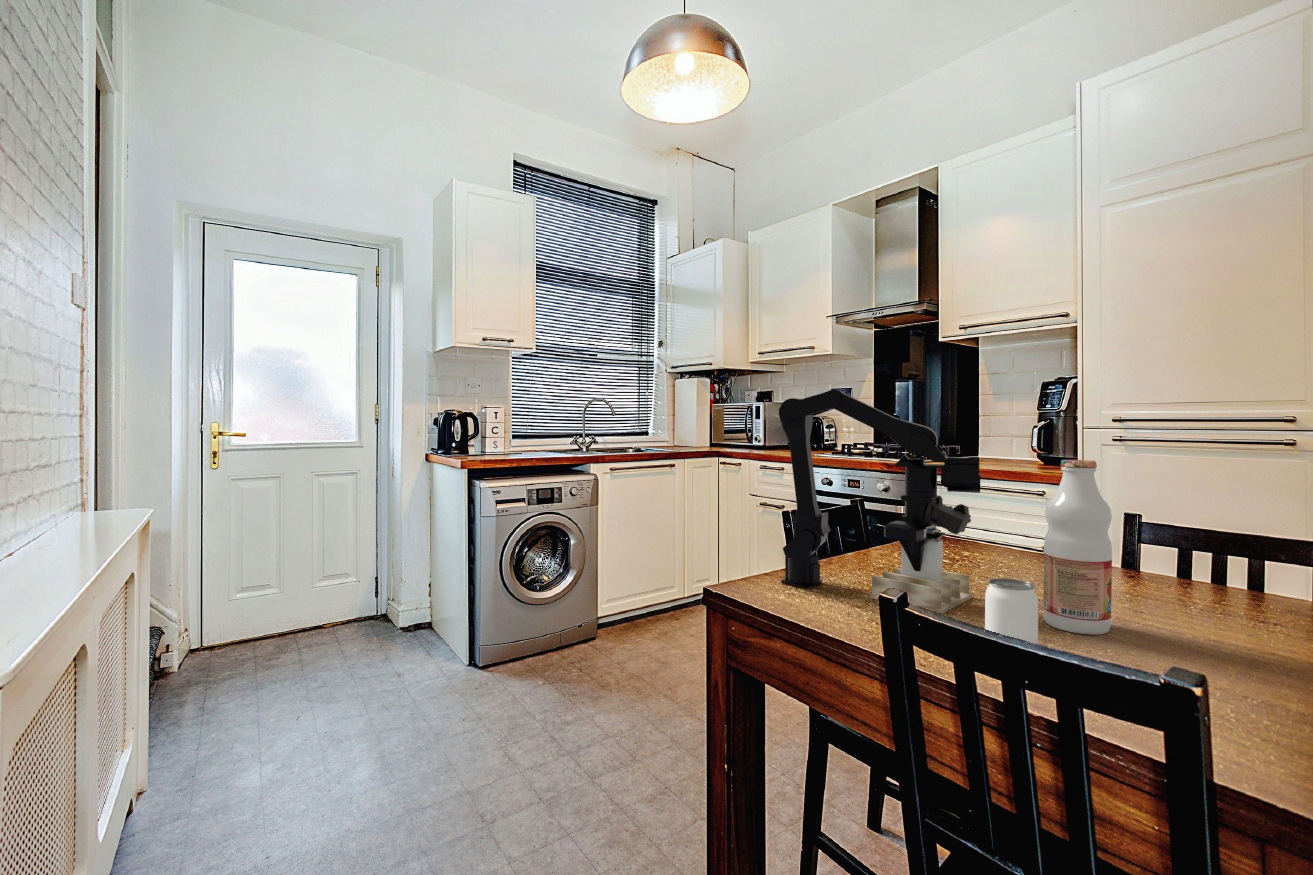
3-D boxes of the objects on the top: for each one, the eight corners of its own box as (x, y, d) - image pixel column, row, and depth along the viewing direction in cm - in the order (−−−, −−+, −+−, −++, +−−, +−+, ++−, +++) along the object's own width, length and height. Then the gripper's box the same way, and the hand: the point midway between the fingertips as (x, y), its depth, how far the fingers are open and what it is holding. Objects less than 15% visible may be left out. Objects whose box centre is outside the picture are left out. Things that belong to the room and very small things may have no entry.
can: (1045, 678, 82) (1046, 591, 81) (993, 674, 83) (994, 588, 83) (1026, 659, 88) (1027, 578, 88) (978, 656, 89) (979, 576, 89)
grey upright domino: (901, 586, 120) (901, 536, 119) (906, 584, 121) (907, 534, 121) (936, 594, 114) (937, 541, 114) (942, 591, 116) (942, 540, 116)
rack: (868, 597, 118) (868, 575, 118) (902, 583, 128) (902, 563, 128) (941, 614, 108) (941, 590, 108) (972, 597, 118) (972, 575, 118)
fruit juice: (1030, 617, 106) (1032, 458, 105) (1082, 615, 107) (1084, 458, 105) (1069, 636, 97) (1071, 463, 96) (1125, 635, 97) (1128, 462, 96)
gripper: (943, 499, 105) (942, 587, 106) (983, 489, 118) (982, 568, 118) (882, 493, 113) (882, 575, 114) (925, 485, 126) (925, 558, 126)
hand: (920, 569), depth 118 cm, fingers closed on grey upright domino, 2 cm apart
